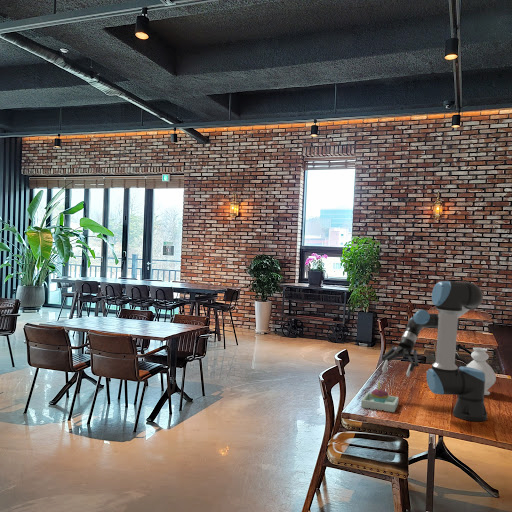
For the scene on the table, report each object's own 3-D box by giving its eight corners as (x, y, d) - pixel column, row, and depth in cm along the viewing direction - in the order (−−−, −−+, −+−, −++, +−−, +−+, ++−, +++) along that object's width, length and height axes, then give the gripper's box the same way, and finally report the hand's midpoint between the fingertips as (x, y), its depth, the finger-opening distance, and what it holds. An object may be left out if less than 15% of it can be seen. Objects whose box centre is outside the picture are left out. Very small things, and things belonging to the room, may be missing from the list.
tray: (394, 412, 248) (394, 405, 248) (361, 407, 254) (361, 400, 254) (398, 403, 262) (398, 397, 262) (366, 399, 268) (367, 392, 268)
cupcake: (384, 406, 252) (385, 382, 252) (368, 403, 257) (369, 379, 257) (390, 403, 260) (391, 379, 260) (374, 399, 264) (375, 376, 264)
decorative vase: (458, 386, 305) (460, 344, 305) (490, 389, 301) (492, 347, 301) (464, 394, 288) (466, 350, 287) (498, 397, 284) (500, 352, 284)
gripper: (431, 349, 275) (419, 381, 264) (388, 342, 291) (375, 373, 280) (428, 340, 271) (416, 373, 260) (384, 334, 287) (371, 364, 276)
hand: (394, 373), depth 270 cm, fingers open, 13 cm apart
